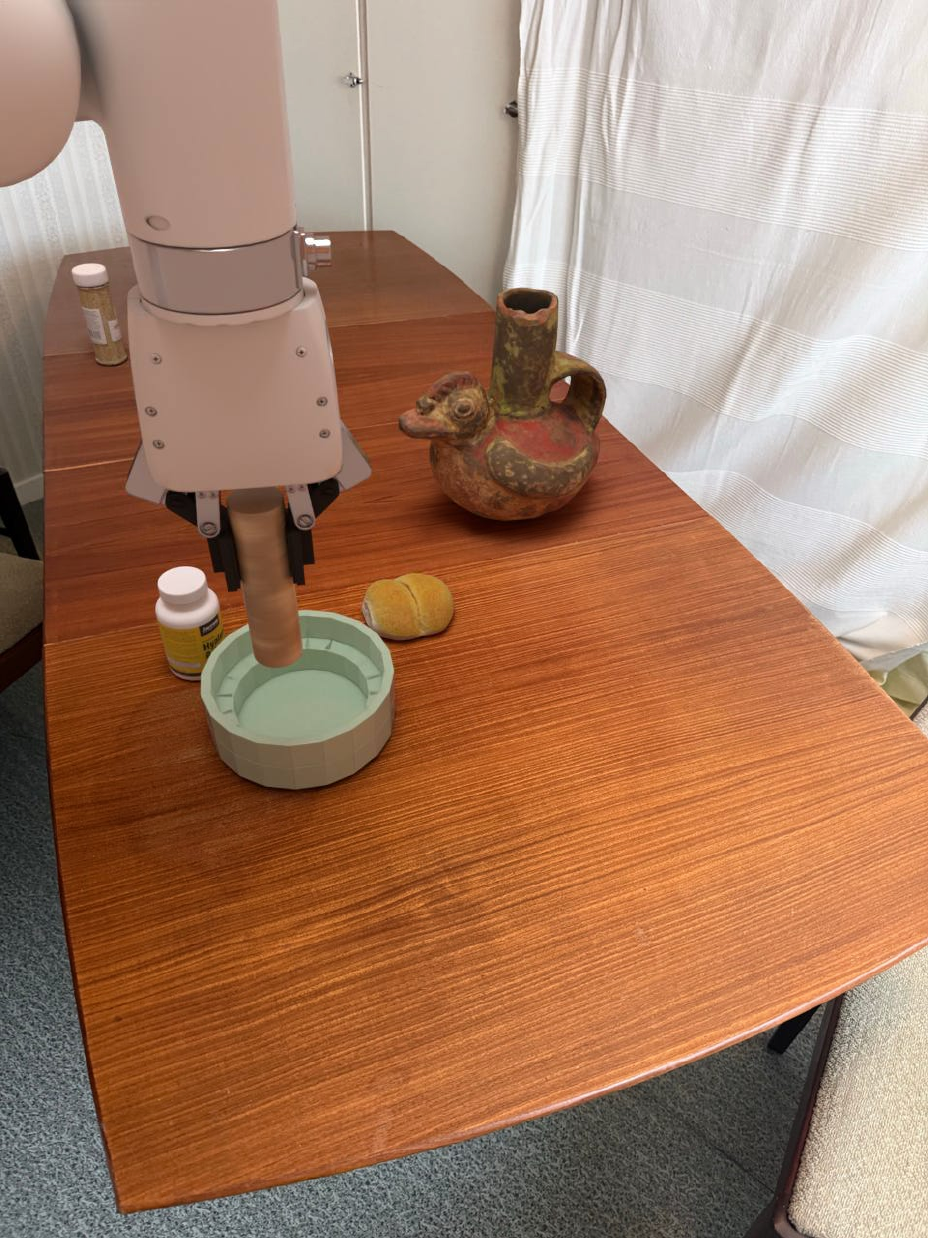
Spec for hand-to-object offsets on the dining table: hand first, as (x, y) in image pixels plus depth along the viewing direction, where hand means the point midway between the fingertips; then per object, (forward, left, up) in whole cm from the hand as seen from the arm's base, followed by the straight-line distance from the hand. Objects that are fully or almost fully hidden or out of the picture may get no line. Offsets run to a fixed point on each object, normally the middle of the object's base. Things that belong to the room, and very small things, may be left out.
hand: (266, 572), depth 51 cm
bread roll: (+12, +21, -23) cm, 33 cm away
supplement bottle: (-8, +18, -23) cm, 30 cm away
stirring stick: (0, 0, -7) cm, 7 cm away
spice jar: (-22, +86, -23) cm, 92 cm away
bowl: (+1, +9, -23) cm, 25 cm away
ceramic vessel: (+26, +38, -23) cm, 51 cm away
